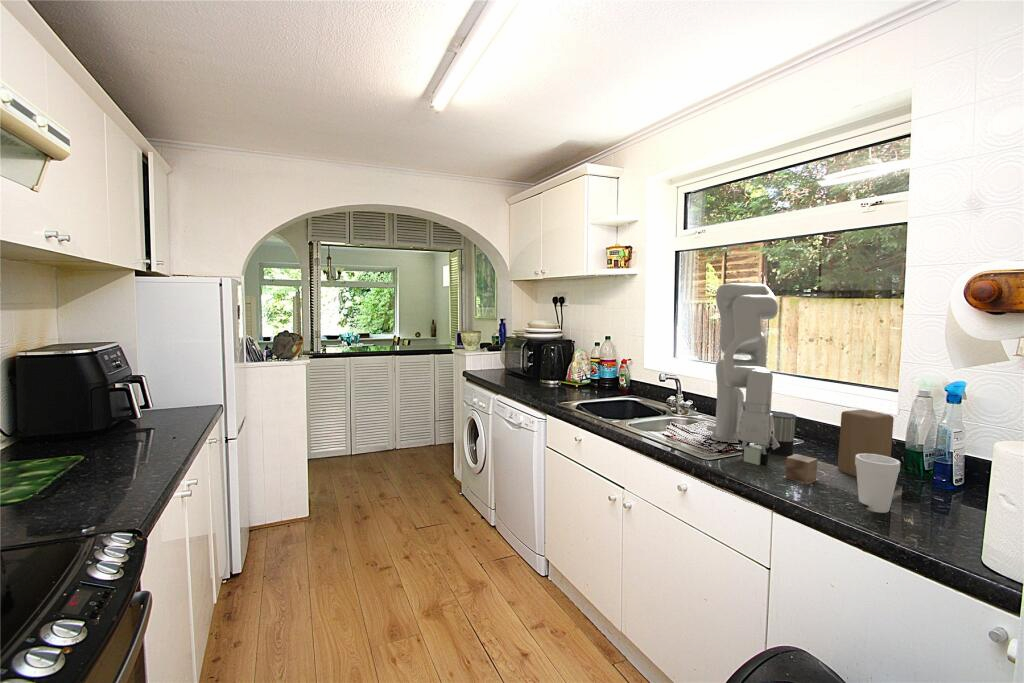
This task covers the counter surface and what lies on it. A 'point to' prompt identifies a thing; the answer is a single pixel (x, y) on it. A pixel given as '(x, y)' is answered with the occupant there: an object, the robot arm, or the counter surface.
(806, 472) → the walnut block
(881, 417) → the block
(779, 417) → the milk frother
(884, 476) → the foam cup
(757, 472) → the counter surface
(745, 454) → the sage block
